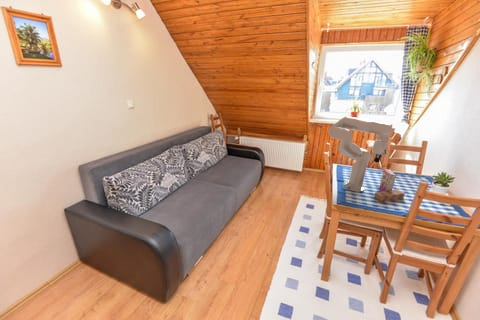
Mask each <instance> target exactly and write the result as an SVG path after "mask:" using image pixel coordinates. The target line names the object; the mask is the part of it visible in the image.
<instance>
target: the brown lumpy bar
mask: <svg viewBox="0 0 480 320" xmlns="http://www.w3.org/2000/svg"><path fill="white" fill-rule="evenodd" d="M405 194H406V193H405V192H403V191H401V190H399V189H398V188H397V189H392V190H390V191H382V192H381V191H376V192H374V196H373V199H375V200H376V201H377V200H378V202H379V203H386V202H387V201H388V202H393V201H394V202H395V201H399V200H404V198H405Z"/></svg>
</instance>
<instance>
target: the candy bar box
mask: <svg viewBox="0 0 480 320" xmlns="http://www.w3.org/2000/svg"><path fill="white" fill-rule="evenodd" d="M382 171H383V172H382V175H381V179H380V182H379V187H378V189H379V190H380V192H382V191H390V190H393V188H394V185H395V181H396V177H397V174H395V172H393V171H392V169H388V168H384V169H383V170H382Z"/></svg>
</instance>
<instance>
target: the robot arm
mask: <svg viewBox="0 0 480 320" xmlns="http://www.w3.org/2000/svg"><path fill="white" fill-rule="evenodd" d="M352 131H353V132H362V133H367V134H377V136H376V139H375V140H374V143H373V146H372V149H371V152H372V153H373V155H374V159H373V160H374V163H380V161H381V158H385V155H387V153H388V148H389V140H390V135H391V133H392V132H393V123H391V122H377V121H374V120H370V119H365V118H359V117H354V116H353V117H352V116H344V117H342V118H341V119H339V120H338V121H336V122H335V123H334V124H333V125H332V126H331V127H330V128H329V130H328V136H329V137H330V138H332V139H335V140H338V141H341V142H340V143H339V144H338V145H337V150H338V153H340V154H341V155H343V156H345V157H347V158H349V159H352V160H354V161H355V162H354V163H353V164H352V165H351V170H350V175H349V179H348V181H347V182H346V183H342V186H343V187H345V188H346V189H347V190H349V191H352V192H356V193H360V192H364V191H365V188H364V187H363V184H364V180H365V176H366V171H367V167H368V165H369V162H370V159H371V157H372V154H371V152H370V150H367V149H365V148H361V147H360V146H359V145H358V144H356V143H354V142H353V139H354V134H353V132H352Z"/></svg>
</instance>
